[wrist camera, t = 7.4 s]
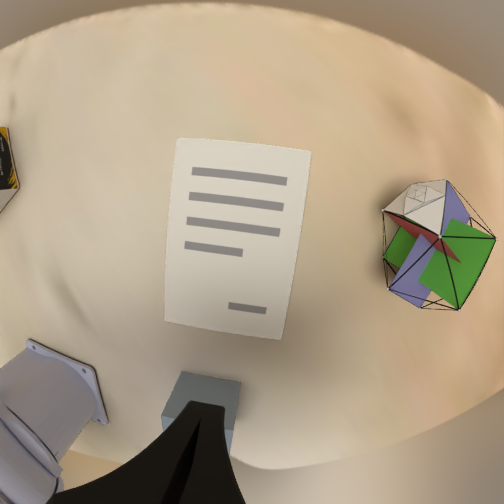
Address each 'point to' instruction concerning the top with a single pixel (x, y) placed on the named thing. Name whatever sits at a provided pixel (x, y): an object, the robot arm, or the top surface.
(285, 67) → the top surface
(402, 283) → the geometric puzzle
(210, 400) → the slate cube
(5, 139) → the medicine bottle
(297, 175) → the letter
